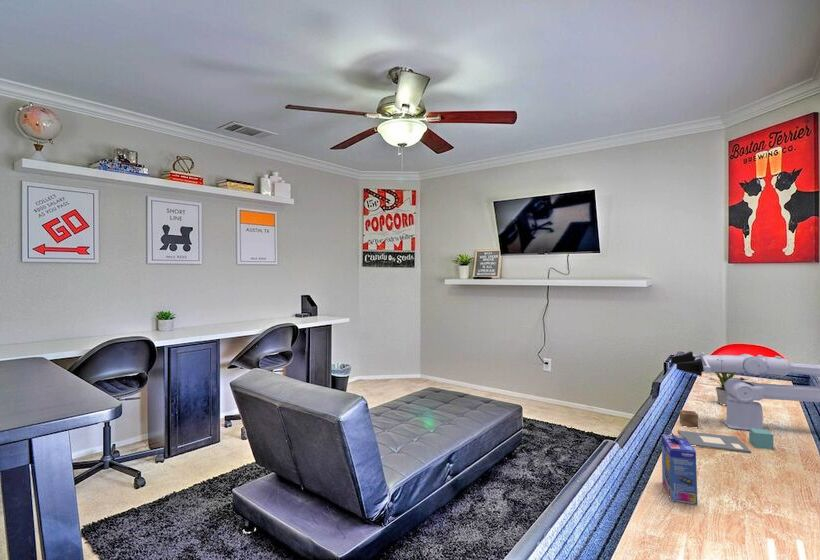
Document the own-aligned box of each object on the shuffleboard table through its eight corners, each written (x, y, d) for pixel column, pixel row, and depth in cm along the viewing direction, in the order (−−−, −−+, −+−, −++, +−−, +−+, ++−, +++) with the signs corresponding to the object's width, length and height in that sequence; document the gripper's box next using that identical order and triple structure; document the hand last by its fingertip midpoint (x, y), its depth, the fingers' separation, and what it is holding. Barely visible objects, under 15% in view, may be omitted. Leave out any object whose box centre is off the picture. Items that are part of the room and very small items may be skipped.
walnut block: (694, 424, 149) (694, 411, 149) (698, 428, 145) (698, 415, 145) (679, 422, 151) (679, 409, 151) (682, 426, 147) (682, 413, 147)
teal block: (766, 444, 132) (767, 429, 131) (773, 449, 127) (773, 434, 127) (749, 442, 133) (749, 427, 133) (754, 447, 129) (754, 432, 129)
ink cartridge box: (660, 481, 107) (660, 424, 107) (685, 485, 105) (686, 426, 105) (669, 501, 98) (670, 438, 98) (698, 505, 96) (698, 441, 96)
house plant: (706, 407, 168) (706, 365, 168) (698, 398, 181) (698, 359, 181) (751, 411, 163) (751, 368, 163) (739, 401, 176) (739, 362, 176)
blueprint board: (736, 438, 136) (736, 436, 136) (751, 453, 125) (751, 451, 125) (677, 432, 141) (677, 430, 141) (686, 445, 130) (686, 443, 130)
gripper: (711, 346, 155) (668, 346, 160) (726, 358, 142) (678, 358, 146) (711, 365, 156) (669, 365, 161) (726, 379, 142) (679, 378, 147)
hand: (673, 363), depth 153 cm, fingers open, 7 cm apart
